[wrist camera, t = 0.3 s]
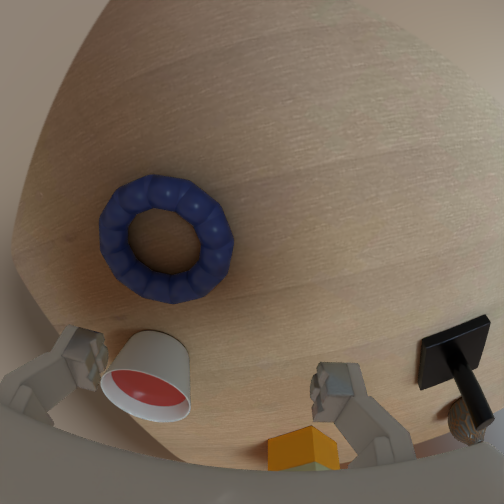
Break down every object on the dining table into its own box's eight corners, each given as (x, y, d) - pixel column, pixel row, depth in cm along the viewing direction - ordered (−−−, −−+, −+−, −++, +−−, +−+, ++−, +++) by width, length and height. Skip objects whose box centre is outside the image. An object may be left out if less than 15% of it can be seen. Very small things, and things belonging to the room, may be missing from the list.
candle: (216, 364, 32) (209, 413, 27) (158, 384, 35) (146, 426, 29) (160, 308, 29) (142, 358, 23) (104, 337, 31) (84, 380, 26)
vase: (445, 401, 38) (462, 446, 30) (481, 384, 36) (500, 426, 29) (441, 419, 41) (455, 459, 33) (474, 403, 39) (490, 442, 32)
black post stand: (421, 338, 30) (458, 423, 20) (485, 313, 29) (530, 385, 19) (417, 382, 34) (442, 455, 24) (473, 360, 33) (505, 425, 23)
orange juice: (312, 425, 39) (322, 554, 22) (337, 442, 42) (349, 552, 25) (266, 439, 41) (265, 559, 24) (295, 455, 45) (299, 559, 27)
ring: (86, 200, 23) (72, 211, 21) (203, 151, 21) (197, 158, 19) (142, 301, 28) (135, 318, 26) (251, 274, 26) (250, 291, 24)
